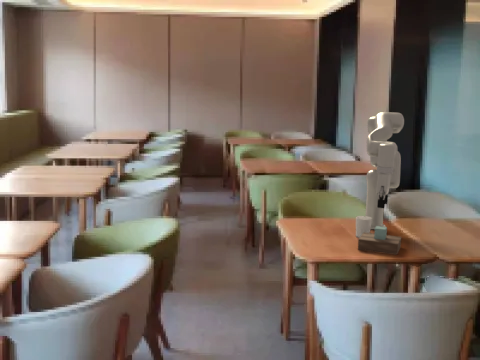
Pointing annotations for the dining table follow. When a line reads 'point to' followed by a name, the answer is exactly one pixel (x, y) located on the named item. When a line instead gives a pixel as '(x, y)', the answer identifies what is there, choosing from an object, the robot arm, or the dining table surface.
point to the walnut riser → (379, 243)
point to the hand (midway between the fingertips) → (382, 205)
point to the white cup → (363, 225)
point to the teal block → (380, 232)
